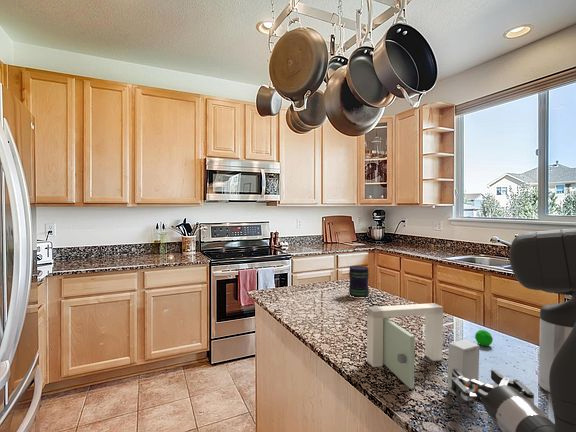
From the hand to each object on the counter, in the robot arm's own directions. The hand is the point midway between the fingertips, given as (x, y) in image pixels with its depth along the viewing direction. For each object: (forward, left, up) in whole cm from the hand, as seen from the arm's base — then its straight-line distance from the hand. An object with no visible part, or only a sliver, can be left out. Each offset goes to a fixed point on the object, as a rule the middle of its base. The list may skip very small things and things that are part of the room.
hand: (473, 373), depth 76 cm
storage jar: (-12, -92, -7) cm, 93 cm away
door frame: (+4, -23, -7) cm, 24 cm away
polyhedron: (-28, -28, -7) cm, 40 cm away
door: (+12, -16, -7) cm, 20 cm away
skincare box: (-1, -5, -7) cm, 9 cm away
